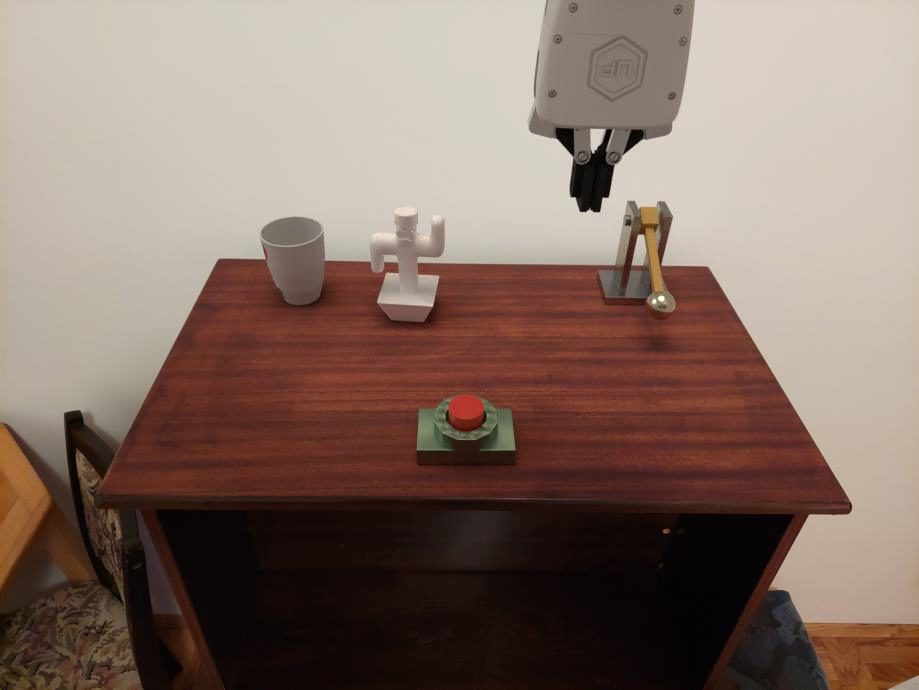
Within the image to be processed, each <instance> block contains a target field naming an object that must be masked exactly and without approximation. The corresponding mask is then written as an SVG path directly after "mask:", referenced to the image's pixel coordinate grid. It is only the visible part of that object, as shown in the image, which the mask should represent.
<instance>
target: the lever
mask: <svg viewBox="0 0 919 690" xmlns="http://www.w3.org/2000/svg"><path fill="white" fill-rule="evenodd" d="M638 209H639V211H640V213H641V215H642V218H641V223H640V228H639V232H638V236H643V237H644V238H643V239H644V243H645V250H646V251H647V258H648V264H649V271H650V277H651V284H652V290H653V293H652V294H651V295H650V296H649V297H648V298H647V300H646V303H645V305H644V308H645V311H646V313H647V315H648V316H649V318H651V319H653V320H655V321H666V320H668V319H669V318H671V317H672V316H673V315H674V314H675V312H676V309H677V302H676V298H675V297H674V295H672V294H671V293H670V292H669V291H668V292H669V293H668V292H665V291H664V288H663V282H662V278H663V276H662V269H660V264H659V258H658V251H657V245H656V239H655V232H656V230H657V228H658V226H659V219H658V213H657V207H656V206H639V207H638ZM646 251H645V252H646Z"/></svg>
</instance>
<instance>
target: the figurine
mask: <svg viewBox="0 0 919 690" xmlns="http://www.w3.org/2000/svg"><path fill="white" fill-rule="evenodd" d="M393 213H394V215H393V217H394V225H395V233H394V232H375V233H373V234H372V235H371V236H370V239H369V254H370V267H371V271H372V272H373V273H374V274H381V273H382V272H383V271H384V269H385V256H396V257H397V268H398V269H397V271H398V272H386V273H385V276H384V279H383V282H382V285H381V289H380V292H379V294H378V297H377V300H376V304H377V306H378V307H379V308H380V309H381V310H382V311H383V312H384V313H385V314H386V316H387V317H388V318H389V319H390V321H397V322H398V321H399V322H413V323H415V322H416V323H425V321H426V319H427V318H428V316H429V315H430V313H431V311H432V309H433V308H434V303H435V299H436V294H437V290H438V285H439V280H440V275H433V274H419V267H418V266H419V265H418V263H419V261H418V258H434V259H435V258H440V257H442V255H443V254H444V251H445V246H446V244H445V243H446V242H445V241H446V222H445V221H446V220H445V217H444V216H443V215H442V214H439V213H438V214H435V215H433V216H432V218H431V222H430V226H431V227H430V234H419V233H418V230H417V226H418V224H419V212H418V209H417V208H414V207H412V206H400V207H397V208H396V209H394V211H393Z"/></svg>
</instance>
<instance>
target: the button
mask: <svg viewBox="0 0 919 690" xmlns="http://www.w3.org/2000/svg"><path fill="white" fill-rule="evenodd" d="M458 395H459V396H457V397H455V398H453V399H452V400H451V401H450V403H449V407H448V419H449V423H450V424H451V426H452V427H454V428H455V429H457V430H460V431H473V430H476V429H477V428H479V427H480V426H481V425H482V423H483V419H484V404H483V402H482V401H481V400H480V399H479V398H477V397H475V396H473V395H474V394H458Z"/></svg>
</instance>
